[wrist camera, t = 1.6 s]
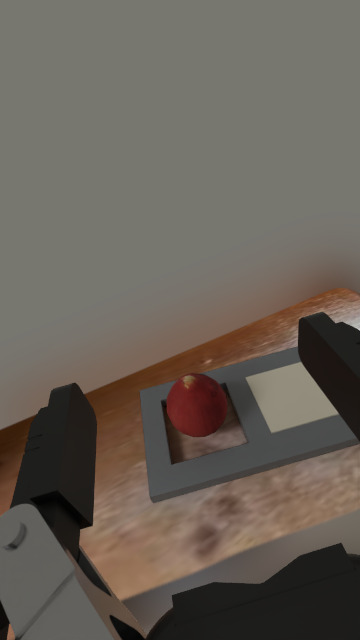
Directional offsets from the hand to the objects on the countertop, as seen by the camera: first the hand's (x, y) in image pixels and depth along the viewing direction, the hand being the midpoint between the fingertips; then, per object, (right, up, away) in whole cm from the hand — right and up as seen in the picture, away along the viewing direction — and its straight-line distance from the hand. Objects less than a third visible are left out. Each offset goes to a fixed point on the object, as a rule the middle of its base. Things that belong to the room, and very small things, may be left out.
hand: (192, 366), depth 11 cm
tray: (+6, -8, +21) cm, 23 cm away
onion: (+2, -10, +21) cm, 23 cm away
